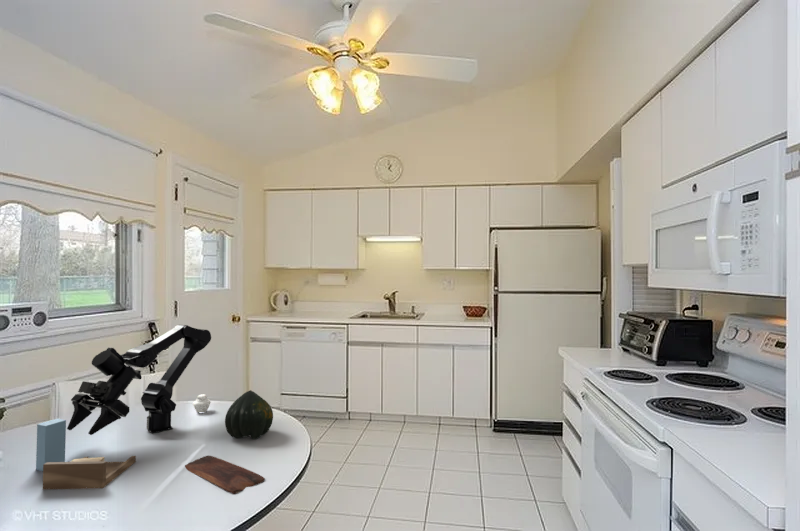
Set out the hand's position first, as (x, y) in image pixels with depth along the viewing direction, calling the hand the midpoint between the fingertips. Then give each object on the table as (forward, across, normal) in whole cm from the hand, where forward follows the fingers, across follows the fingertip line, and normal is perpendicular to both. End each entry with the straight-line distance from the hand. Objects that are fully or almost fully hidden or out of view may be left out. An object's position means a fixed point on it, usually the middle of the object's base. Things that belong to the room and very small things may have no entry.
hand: (78, 432), depth 123 cm
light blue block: (+11, 0, 0) cm, 11 cm away
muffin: (-26, -1, +38) cm, 46 cm away
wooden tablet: (0, +44, +13) cm, 45 cm away
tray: (+10, +15, +1) cm, 18 cm away
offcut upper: (+10, +17, -3) cm, 20 cm away
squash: (-18, +32, +30) cm, 47 cm away
